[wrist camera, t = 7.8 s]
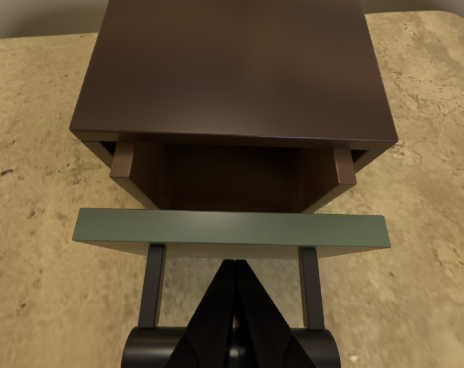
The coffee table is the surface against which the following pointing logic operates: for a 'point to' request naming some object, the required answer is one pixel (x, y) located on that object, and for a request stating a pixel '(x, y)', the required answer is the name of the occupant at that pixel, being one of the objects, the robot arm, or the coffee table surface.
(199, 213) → the drawer
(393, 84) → the coffee table surface
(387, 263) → the coffee table surface
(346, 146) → the cabinet
